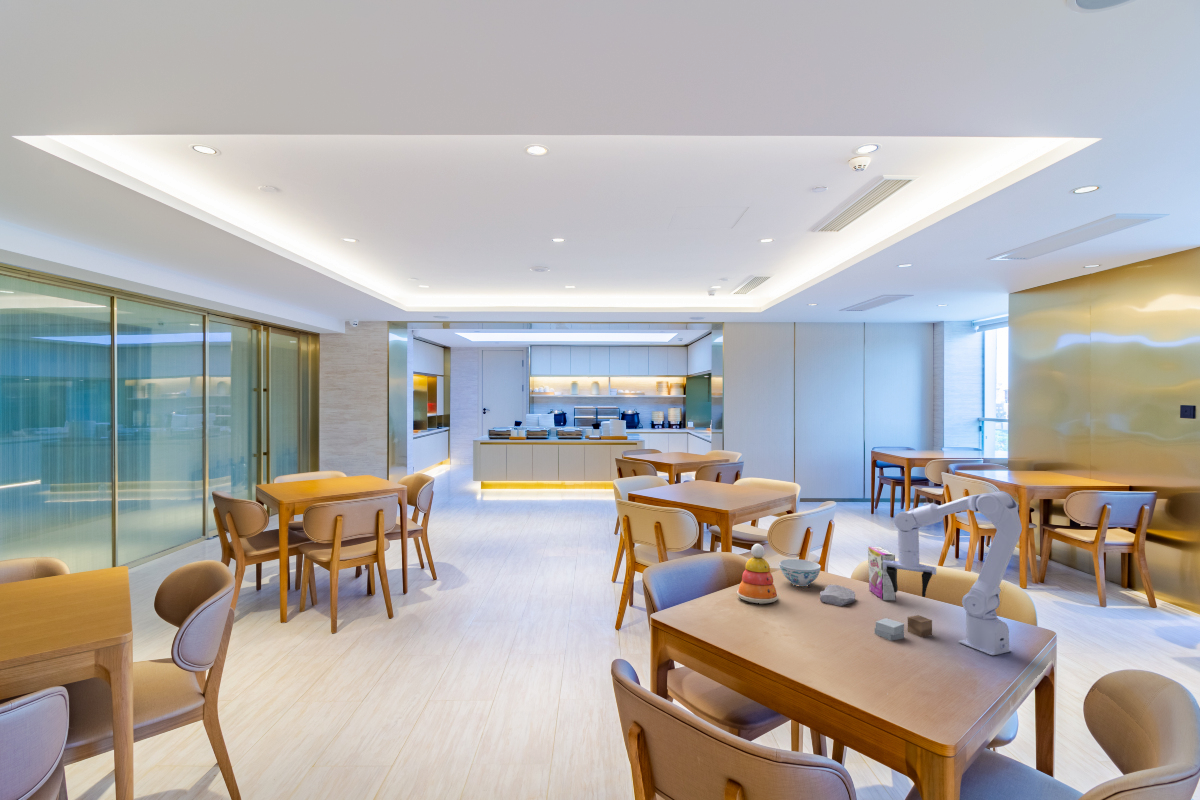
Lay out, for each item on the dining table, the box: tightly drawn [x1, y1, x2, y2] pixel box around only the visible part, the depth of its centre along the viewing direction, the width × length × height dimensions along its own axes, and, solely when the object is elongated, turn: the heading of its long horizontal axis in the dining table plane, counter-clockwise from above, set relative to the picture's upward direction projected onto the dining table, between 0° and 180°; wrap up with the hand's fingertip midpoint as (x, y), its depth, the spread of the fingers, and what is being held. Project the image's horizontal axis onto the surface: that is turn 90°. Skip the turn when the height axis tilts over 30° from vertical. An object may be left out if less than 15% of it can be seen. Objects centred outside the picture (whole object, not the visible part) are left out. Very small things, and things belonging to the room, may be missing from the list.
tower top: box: [875, 617, 905, 635], centre depth 162 cm, size 6×6×2 cm
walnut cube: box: [907, 614, 933, 638], centre depth 164 cm, size 4×4×4 cm
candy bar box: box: [867, 546, 897, 602], centre depth 198 cm, size 11×5×16 cm, turn 178°
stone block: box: [819, 584, 856, 607], centre depth 193 cm, size 12×5×10 cm
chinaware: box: [778, 558, 822, 586], centre depth 212 cm, size 15×15×8 cm
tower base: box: [874, 627, 905, 642], centre depth 162 cm, size 6×6×2 cm
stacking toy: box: [736, 543, 779, 605], centre depth 195 cm, size 14×14×20 cm
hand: (909, 593), depth 171 cm, fingers open, 7 cm apart
